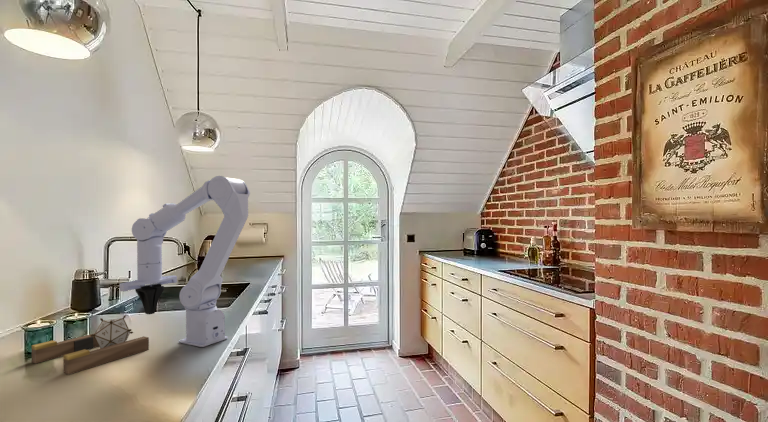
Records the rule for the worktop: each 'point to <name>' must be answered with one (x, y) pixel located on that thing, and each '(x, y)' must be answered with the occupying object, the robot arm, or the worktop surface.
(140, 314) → the worktop surface
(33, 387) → the worktop surface
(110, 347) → the twin wooden rails
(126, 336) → the game die
